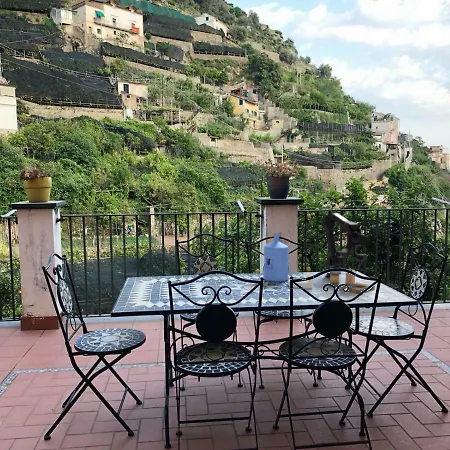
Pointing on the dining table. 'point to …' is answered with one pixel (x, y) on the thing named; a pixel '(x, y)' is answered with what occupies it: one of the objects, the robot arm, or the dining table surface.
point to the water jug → (276, 261)
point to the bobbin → (334, 278)
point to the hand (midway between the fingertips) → (350, 269)
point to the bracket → (305, 282)
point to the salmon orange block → (350, 278)
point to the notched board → (357, 287)
